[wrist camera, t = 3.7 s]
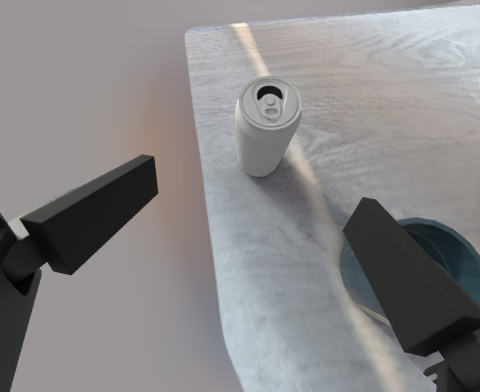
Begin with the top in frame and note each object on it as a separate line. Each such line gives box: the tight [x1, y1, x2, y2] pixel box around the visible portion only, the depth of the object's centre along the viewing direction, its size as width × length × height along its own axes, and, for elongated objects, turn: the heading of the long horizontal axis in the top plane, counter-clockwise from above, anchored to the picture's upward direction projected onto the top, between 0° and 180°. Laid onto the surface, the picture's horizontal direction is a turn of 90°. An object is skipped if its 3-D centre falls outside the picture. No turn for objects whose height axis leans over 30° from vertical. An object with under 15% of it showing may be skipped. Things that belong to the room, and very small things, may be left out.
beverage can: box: [235, 76, 302, 177], centre depth 22 cm, size 6×6×12 cm
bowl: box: [340, 217, 480, 328], centre depth 21 cm, size 12×12×6 cm
